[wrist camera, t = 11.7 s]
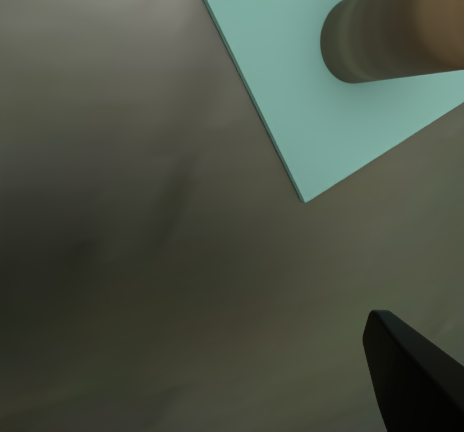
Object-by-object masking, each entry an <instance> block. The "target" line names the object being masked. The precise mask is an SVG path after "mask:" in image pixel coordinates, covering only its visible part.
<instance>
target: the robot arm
mask: <svg viewBox="0 0 464 432" xmlns="http://www.w3.org/2000/svg"><path fill="white" fill-rule="evenodd" d="M363 346H364V350H365V355H366V359H367V363H368V367H369V371H370V375H371V379H372V383H373V387H374V391H375V395H376V399H377V403H378V406H379V409H380V412H381V415H382V418H383V421H384V424H385V426H386V429H387V432H464V366H462V365H461V364H460V363H458V362H457V361H456V360H454V359H453V358H452V357H450V356H449V355H448V354H446V353H445V352H444V351H442V350H441V349H440V348H438V347H437V346H436V345H434V344H433V343H432V342H430V341H429V340H428V339H426V338H425V337H424V336H422V335H421V334H420V333H418V332H417V331H416V330H414V329H413V328H412V327H410V326H409V325H408V324H406V323H405V322H404V321H402V320H401V319H400V318H398V317H397V316H396V315H394V314H393V313H392V312H390V311H388V310H372V311H371V312H370V313H369V316H368V319H367V323H366V326H365V330H364V333H363Z"/></svg>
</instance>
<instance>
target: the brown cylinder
mask: <svg viewBox="0 0 464 432" xmlns="http://www.w3.org/2000/svg"><path fill="white" fill-rule="evenodd" d="M320 47H321V53H322V57H323V60H324V63H325V65H326V67H327V68H328V70H329V71H330V72H331V73H332V74H333V75H334V76H335V77H336V78H337V79H339V80H341V81H343V82H346V83H351V84H355V83H364V82H372V81H380V80H388V79H396V78H403V77H411V76H419V75H427V74H435V73H443V72H451V71H458V70H464V0H342V1H341V2H339V3H338V4H336V5H335V6H334V7H333V8H332V10H331V11H330V12H329V14H328V15H327V17H326V19H325V21H324V24H323V27H322V31H321V37H320Z"/></svg>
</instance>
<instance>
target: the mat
mask: <svg viewBox="0 0 464 432" xmlns="http://www.w3.org/2000/svg"><path fill="white" fill-rule="evenodd" d="M341 1H342V0H204V2H205V4H206V7H207V9H208V11H209V13H210V15H211V17H212V19H213V21H214V23H215V25H216V27H217V29H218V31H219V33H220V35H221V37H222V39H223V41H224V43H225V45H226V48H227V50H228V52H229V54H230V56H231V58H232V60H233V62H234V64H235V66H236V68H237V70H238V72H239V74H240V76H241V78H242V80H243V82H244V84H245V86H246V89H247V91H248V93H249V95H250V97H251V99H252V101H253V103H254V105H255V107H256V109H257V111H258V113H259V115H260V117H261V119H262V121H263V123H264V125H265V127H266V130H267V132H268V134H269V136H270V138H271V140H272V142H273V144H274V146H275V148H276V150H277V152H278V154H279V156H280V158H281V160H282V162H283V164H284V166H285V168H286V170H287V173H288V175H289V177H290V179H291V181H292V183H293V185H294V187H295V189H296V191H297V193H298V195H299V197H300V199H301V201H302V202H304V203H306V202H308V201H309V200H311V199H313V198H314V197H316V196H317V195H319V194H320V193H322V192H324V191H325V190H327V189H328V188H330V187H331V186H333V185H334V184H336V183H338V182H339V181H341V180H342V179H344V178H345V177H347V176H349V175H350V174H352V173H353V172H355V171H356V170H358V169H359V168H361V167H363V166H364V165H366V164H367V163H369V162H370V161H372V160H374V159H375V158H377V157H378V156H380V155H381V154H383V153H384V152H386V151H388V150H389V149H391V148H392V147H394V146H395V145H397V144H399V143H400V142H402V141H403V140H405V139H406V138H408V137H409V136H411V135H413V134H414V133H416V132H417V131H419V130H420V129H422V128H424V127H425V126H427V125H428V124H430V123H431V122H433V121H434V120H436V119H438V118H439V117H441V116H442V115H444V114H445V113H447V112H449V111H450V110H452V109H453V108H455V107H456V106H458V105H459V104H461V103H463V102H464V70H458V71H451V72H443V73H435V74H427V75H419V76H411V77H403V78H396V79H388V80H380V81H372V82H364V83H355V84H351V83H346V82H343V81H341V80H339V79H337V78H336V77H335V76H334V75H333V74H332V73H331V72H330V71H329V70H328V68H327V67H326V65H325V63H324V60H323V57H322V53H321V47H320V37H321V31H322V27H323V24H324V21H325V19H326V17H327V15H328V14H329V12H330V11H331V10H332V8H333V7H334V6H335V5H336V4H338V3H339V2H341Z"/></svg>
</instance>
